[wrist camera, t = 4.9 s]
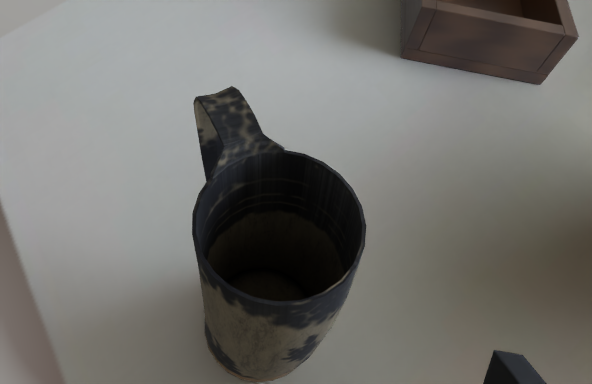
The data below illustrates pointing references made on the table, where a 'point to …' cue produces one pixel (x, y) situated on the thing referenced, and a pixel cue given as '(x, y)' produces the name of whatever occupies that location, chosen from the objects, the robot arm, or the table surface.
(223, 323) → the mug
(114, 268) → the table surface
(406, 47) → the square wooden tray
